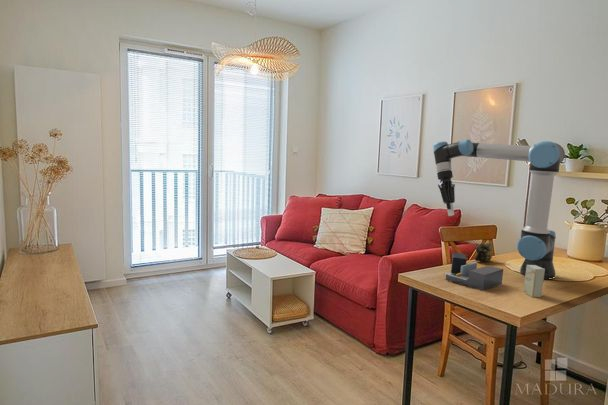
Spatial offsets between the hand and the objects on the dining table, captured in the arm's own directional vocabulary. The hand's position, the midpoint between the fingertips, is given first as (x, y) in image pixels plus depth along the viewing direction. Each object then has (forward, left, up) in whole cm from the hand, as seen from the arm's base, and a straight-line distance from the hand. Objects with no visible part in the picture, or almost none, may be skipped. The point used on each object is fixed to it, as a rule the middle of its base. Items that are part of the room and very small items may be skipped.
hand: (451, 215), depth 212 cm
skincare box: (-47, +11, -27) cm, 55 cm away
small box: (-15, +15, -27) cm, 34 cm away
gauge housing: (-23, +16, -26) cm, 39 cm away
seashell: (-6, -24, -27) cm, 36 cm away
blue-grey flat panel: (-21, +18, -25) cm, 38 cm away
